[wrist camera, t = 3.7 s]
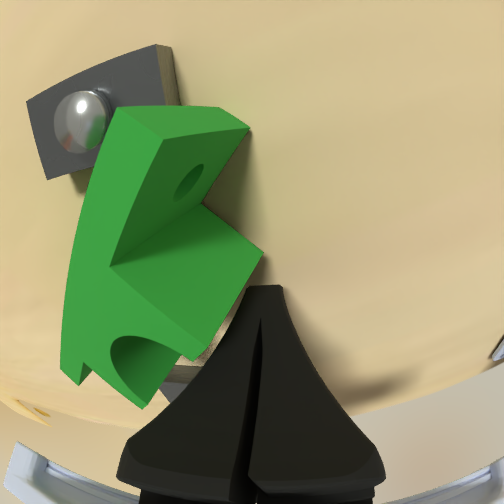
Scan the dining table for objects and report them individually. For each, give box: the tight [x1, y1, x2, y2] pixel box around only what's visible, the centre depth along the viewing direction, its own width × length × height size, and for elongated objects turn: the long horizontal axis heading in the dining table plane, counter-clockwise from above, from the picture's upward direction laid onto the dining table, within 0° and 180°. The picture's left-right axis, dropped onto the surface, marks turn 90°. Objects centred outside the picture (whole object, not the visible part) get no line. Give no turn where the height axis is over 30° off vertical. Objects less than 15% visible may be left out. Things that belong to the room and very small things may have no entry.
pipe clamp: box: [60, 106, 264, 409], centre depth 9 cm, size 11×4×5 cm, turn 147°
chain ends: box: [26, 44, 202, 403], centre depth 11 cm, size 5×18×2 cm, turn 6°
